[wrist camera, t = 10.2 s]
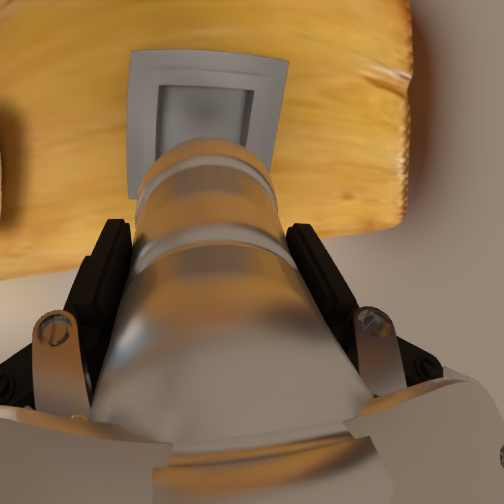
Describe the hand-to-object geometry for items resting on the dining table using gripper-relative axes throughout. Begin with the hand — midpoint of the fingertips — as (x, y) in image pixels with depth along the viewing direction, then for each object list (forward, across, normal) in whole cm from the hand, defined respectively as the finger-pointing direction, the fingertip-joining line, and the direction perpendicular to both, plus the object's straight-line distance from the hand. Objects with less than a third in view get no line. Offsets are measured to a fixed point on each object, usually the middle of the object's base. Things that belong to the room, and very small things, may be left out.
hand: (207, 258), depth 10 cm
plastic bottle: (+7, 0, 0) cm, 7 cm away
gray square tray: (+24, 0, 0) cm, 24 cm away
